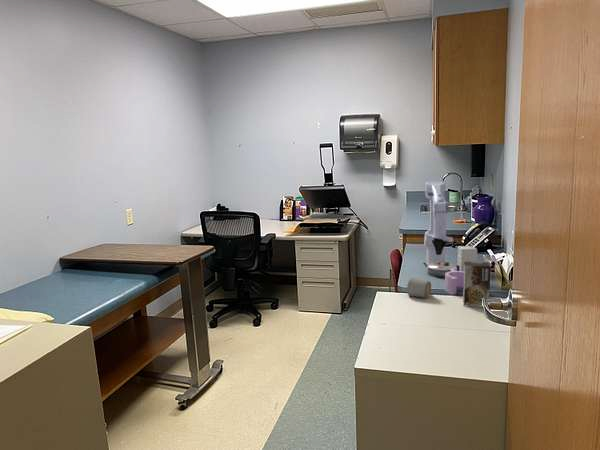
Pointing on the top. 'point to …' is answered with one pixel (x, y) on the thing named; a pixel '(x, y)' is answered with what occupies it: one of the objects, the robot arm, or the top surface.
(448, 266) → the cooker lid
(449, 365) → the top surface
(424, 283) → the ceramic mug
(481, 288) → the coffee box
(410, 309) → the top surface
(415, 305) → the top surface
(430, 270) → the cooker pot
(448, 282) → the pink rounded block
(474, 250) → the supplement box
